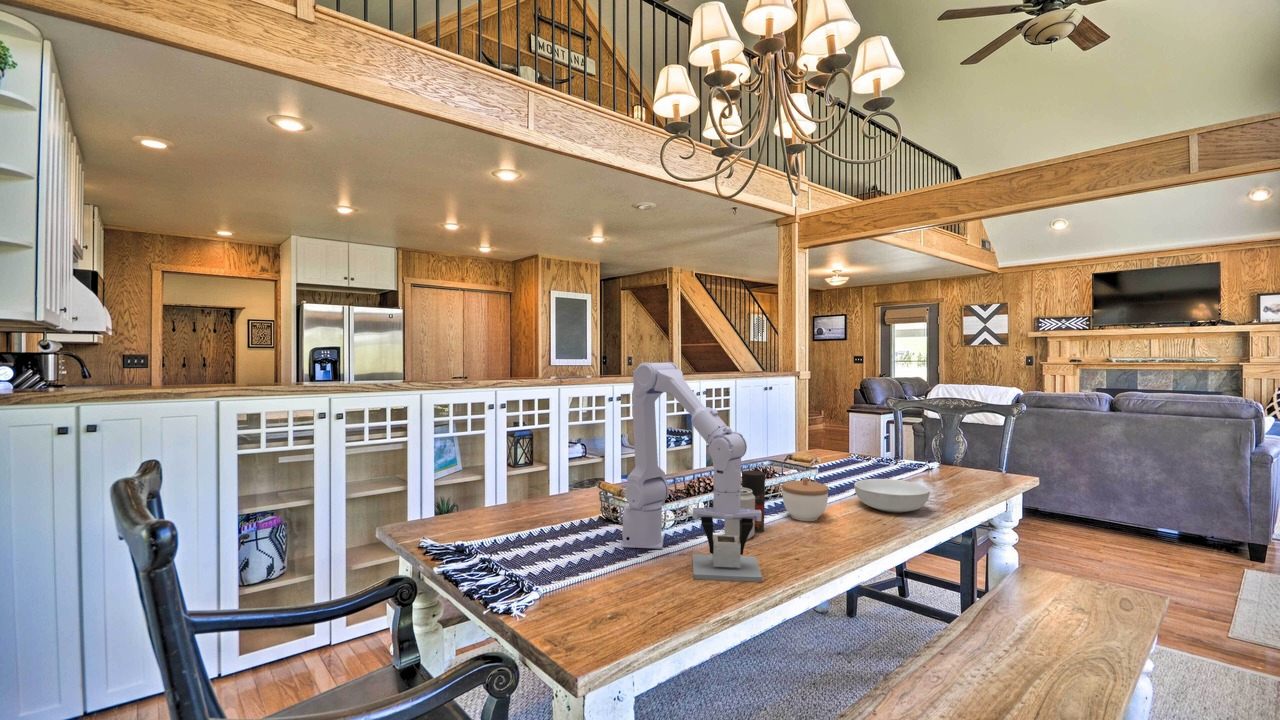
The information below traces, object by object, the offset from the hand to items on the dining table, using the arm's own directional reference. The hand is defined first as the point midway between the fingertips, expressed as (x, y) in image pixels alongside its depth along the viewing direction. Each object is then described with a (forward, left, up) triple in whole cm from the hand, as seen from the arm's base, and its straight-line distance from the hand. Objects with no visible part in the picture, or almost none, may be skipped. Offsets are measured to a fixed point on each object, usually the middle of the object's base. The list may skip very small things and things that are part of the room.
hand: (726, 552), depth 128 cm
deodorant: (+9, +29, -4) cm, 31 cm away
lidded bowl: (+25, +42, -4) cm, 49 cm away
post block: (0, 0, -4) cm, 4 cm away
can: (+5, +23, -4) cm, 24 cm away
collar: (0, 0, -2) cm, 2 cm away
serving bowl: (+53, +55, -4) cm, 76 cm away
